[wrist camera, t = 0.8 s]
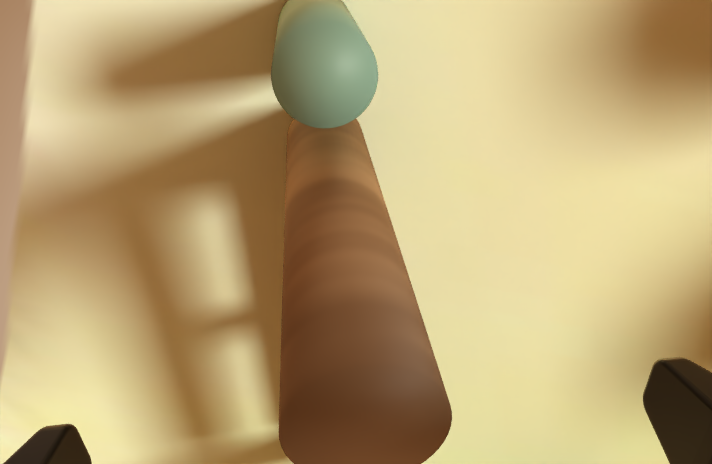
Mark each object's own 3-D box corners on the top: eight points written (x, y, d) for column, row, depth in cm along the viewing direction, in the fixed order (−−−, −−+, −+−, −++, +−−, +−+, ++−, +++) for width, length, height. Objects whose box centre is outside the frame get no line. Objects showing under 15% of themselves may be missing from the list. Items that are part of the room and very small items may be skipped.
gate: (374, 417, 26) (428, 750, 15) (321, 423, 25) (340, 764, 15) (361, 99, 18) (456, 356, 7) (282, 105, 17) (268, 376, 7)
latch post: (354, 64, 18) (379, 124, 13) (282, 69, 18) (278, 132, 12) (350, -14, 16) (376, 16, 11) (273, -10, 16) (264, 24, 11)
